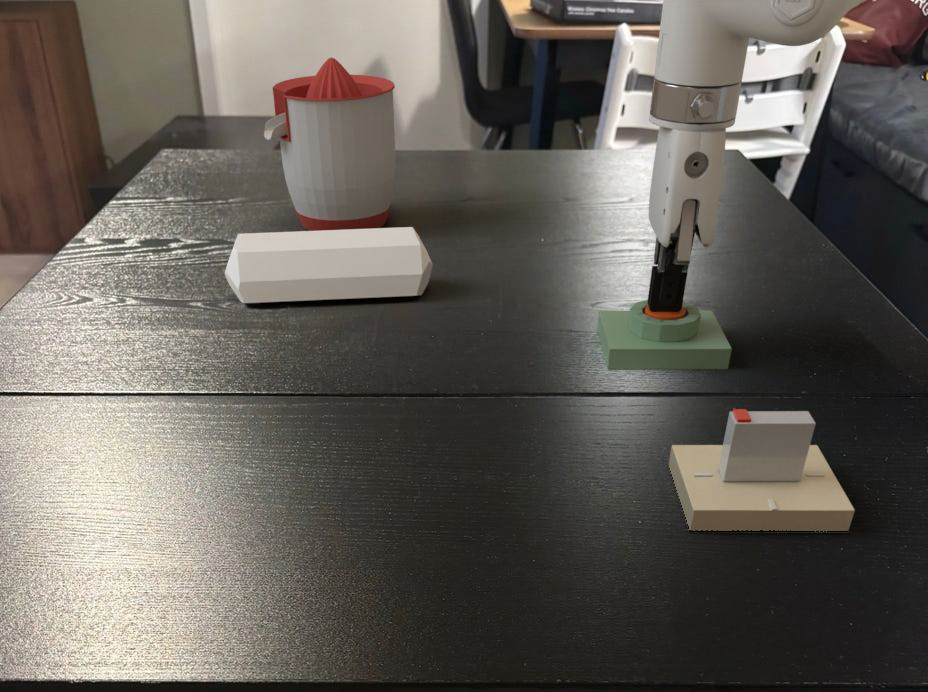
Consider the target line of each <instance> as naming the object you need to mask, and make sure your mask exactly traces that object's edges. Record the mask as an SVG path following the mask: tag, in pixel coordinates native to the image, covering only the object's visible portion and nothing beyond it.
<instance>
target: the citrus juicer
mask: <svg viewBox="0 0 928 692" xmlns="http://www.w3.org/2000/svg"><path fill="white" fill-rule="evenodd" d="M395 88H396V86H395V82H393V81H391V80H390V79H387V78H384V77H379V76H373V75H364V74H350V73H349V72H348V71H347V69H346V68H345V67H344V66H343V65H342V64H341V63H340V61H338V59H336V58H334V57H329V58H327V59H326V60H325V62H324V63H323V64H322V65H321V67H320V68H319V69H318V71H317V72H316V74H315V75H309V76H308V75H307V76H301V77H295V78H291V79H286V80H282V81H279V82H278V83H275V84H274V85H273V86H272V95H273V104H274V105H273V106H274V114H275V116H274V117H272V118H270V119H268V120H267V121H266V123H265V125H264V131H263V137H264V139H265V140H267V141H270V140H275V139H276V138H279V145H280V154H281V162H282V168H283V174H284V179H285V183H286V187H287V189H288V194H289V197H290V199H291V201H292V204H293V206H294V211H295V214H296V215H297V217H298V220H299V221H300V223H301V225H302V227H303V228H304V229H306V231H322V230H347V229H373V228H382V227H383V226H384V225H385V224H386V223H387V219H388V216H389V213H390V211H391V207H392V198H393V194H394V190H395V189H394V188H395V180H396V162H397V161H396V159H397V158H396V156H397V155H396V137H395V136H396V135H395V134H396V133H395V112H394V111H395V110H394V89H395Z"/></svg>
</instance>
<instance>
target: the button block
mask: <svg viewBox="0 0 928 692" xmlns="http://www.w3.org/2000/svg"><path fill="white" fill-rule="evenodd" d="M647 302H648V299H644V300H641V301H637V302H636V303H634V304H633V305H632V306H631V307H630V308H629V310H599V311H598V317H597V328H596V331H597V335H598V339H599V342H600V346H601V350H602V354H603V357H604V361H605V365H606V370H611V371H612V370H616V371H617V370H620V371H621V370H729V365H730V360H731V355H732V350H733V348H732V346H731V344H730V343H729V340H728V339H727V337H726V335H725V333H724V331H723V329H722V327H721V325H720V324H719V321H718V320H717V317H716V315H715V313H714V312H713V310H712V309H710V310H709V309H707V310H706V309H701V310H699V308H698V307H697V306H695V305H693V304H691V303H689V302H687V301H683V304H682V307H684V308H685V310H686V312H685V318H682V319H678V320H660V319H655V318H651V317H649V316H647V315H645V308H646V306H647V305H648V303H647Z"/></svg>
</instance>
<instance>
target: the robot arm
mask: <svg viewBox="0 0 928 692" xmlns="http://www.w3.org/2000/svg"><path fill="white" fill-rule="evenodd" d="M859 1H860V0H662V8H661V16H660V25H659V33H658V41H657V51H656V61H655V67H654V74H653V76H654V77H653V84H652V90H651V91H652V92H651V99H650V109H649V117H648V121H649V122H650V123H651V124H652V125H656V126H657V127H659V128H658V133H657V136H656V139H657V140H656V145H655V152H654V160H653V166H652V172H651V173H652V174H651V181H650V190H649V200H648V220H649V223H650V225H651V228H652V230H653V232H654V235H655V245H654V254H653V265H652V266H651V272H650V273H651V275H650V279H649V281H650V282H649V288H648V295H647V300H648V302H647V303H648V306H649V309H650V311H652V312H679V311H681V309H682V304H683V302H684V296H685V290H686V284H687V278H688V269H689V265H690V262H691V255H692V251H693V244H694V239H695V235H696V236H697V238H698V240H699V242H700V244H701V245H702V246H703V247H704V248H709V247H711V246H712V245H713V244H714V243H715V237H716V236H715V235H716V228H717V221H718V215H719V206H720V198H721V191H722V183H723V174H724V167H725V166H724V165H725V156H726V140H727V139H726V138H727V137H726V136H727V129H729V128H731V127H733V126H734V125H735V123H736V118H737V112H738V106H739V101H740V94H741V89H742V85H743V84H742V83H743V76H744V70H745V66H746V65H745V64H746V60H747V59H746V58H747V55H748V47H749V43H750V39H754V40H757V41H762V42H766V43H769V44H775V45H779V46H785V47H801V46H806V45H808V44H811V43H814V42H817V41H818V40H820V39H822V38H824V37H825V36H826V35H827V34H828V33H830V32H831V31H832V30H833V29H834V28H836V26H837V25H838V24H839V22H840V21H842V19H843V18H844V16H846V15H847V14H848V12H850V10H851V9H853V7H855V6H856V4H857V3H858V2H859Z"/></svg>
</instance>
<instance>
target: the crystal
mask: <svg viewBox="0 0 928 692" xmlns="http://www.w3.org/2000/svg"><path fill="white" fill-rule="evenodd" d="M433 266H434V265H433V262H432V259H431V257H430V255H429V253H428V250H427V249H426V247H425V244H424V243H423V241H422V239H421V237H420V235H419V234H418V232H417V231H416V229H415V228H414V227H413V226H404V227H403V226H400V227H380V228H373V229H347V230H322V231H310V230H301V231H300V230H299V231H297V230H296V231H275V232H273V231H272V232H251V233H249V232H248V233H237V236H236V238H235V240H234V243H233V247H232V250H231V252H230V255H229V258H228V261H227V265H226V267H225V270H224V277H225V278H226V280H227V283H228V285H229V287H230V288H231V289H232V292H233V293H234V294H235V295H236V297H237V298H238V300H239V302H240V303H241V302H242V303H241V304H260V303H280V302H304V301H323V300H324V301H325V300H327V301H328V300H348V299H369V298H370V299H371V298H392V297H393V298H395V297H414V296H415V297H416V296H422V295H423V294H424V292H425V290H426V288H427V286H428V284H429V282H430V279H431V274H432V270H433Z"/></svg>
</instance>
